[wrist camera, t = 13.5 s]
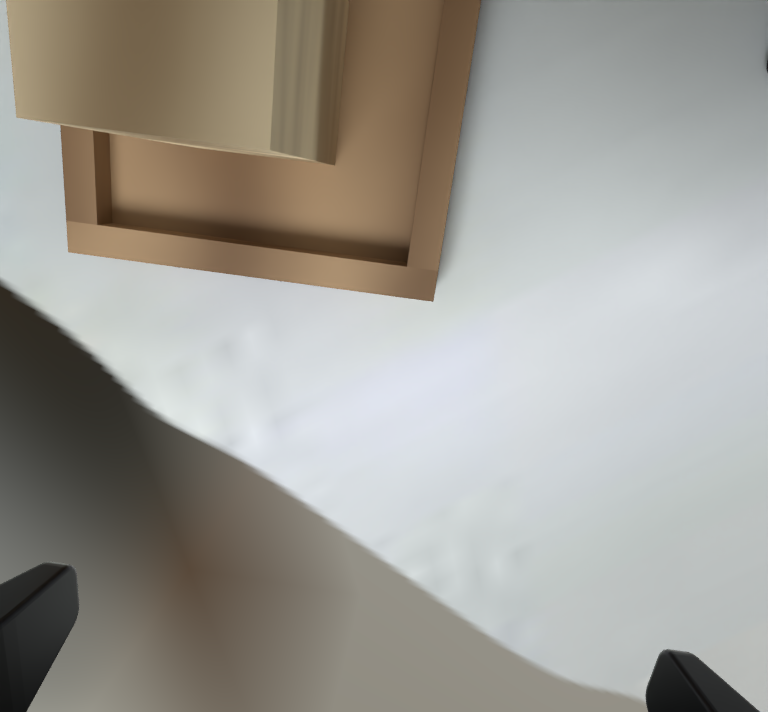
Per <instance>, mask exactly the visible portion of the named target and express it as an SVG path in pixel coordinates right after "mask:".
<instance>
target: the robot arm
mask: <svg viewBox="0 0 768 712" xmlns="http://www.w3.org/2000/svg"><path fill="white" fill-rule="evenodd" d="M767 71H768V62H767ZM78 611H79V598H78V584H77V573H76V569H75V568H74V566H72V565H70V564H63V563H56V562H45V563H42V564H40V565H38V566H36V567H34V568H32V569H30V570H28V571H26V572H24V573H22V574H20V575H18V576H16V577H14V578H12V579H10V580H8V581H6V582H4V583H2V584H0V712H27V710H28V708H29V706H30V704H31V702H32V701H33V699H34V697H35V695H36V693H37V691H38V690H39V688H40V686H41V684H42V682H43V680H44V679H45V677H46V675H47V673H48V671H49V669H50V668H51V666H52V664H53V662H54V660H55V658H56V657H57V655H58V653H59V651H60V649H61V647H62V646H63V644H64V642H65V640H66V638H67V637H68V635H69V633H70V631H71V629H72V627H73V626H74V623H75V621H76V619H77V615H78ZM646 705H647V709H648V712H760V711H758V710H757V709H756V708H755V707H754V706H753V705H752V704H750V703H749V702H748V701H747V700H746V699H745V698H744V697H742V696H741V695H740V694H739V693H738V692H737V691H735V690H734V689H733V688H732V687H731V686H730V685H729V684H727V683H726V682H725V681H724V680H723V679H722V678H721V677H719V676H718V675H717V674H716V673H715V672H714V671H713V670H711V669H710V668H709V667H708V666H707V665H706V664H704V663H703V662H702V661H701V660H700V659H699V658H698V657H696V656H695V655H693V654H692V653H689V652H683V651H677V650H670V649H666V650H663V651H662V652H661V653H660V654H659V656H658V659H657V661H656V664H655V667H654V669H653V672H652V675H651V677H650V680H649V683H648V685H647V689H646Z"/></svg>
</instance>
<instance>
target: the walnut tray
mask: <svg viewBox="0 0 768 712" xmlns="http://www.w3.org/2000/svg"><path fill="white" fill-rule="evenodd" d="M348 1H349V10H348V22H347V33H346V45H345V56H344V67H343V79H342V90H341V101H340V113H339V124H338V136H337V147H336V158H335V166H334V165H326V164H319V163H311V162H303V161H295V160H288V159H280V158H272V157H264V156H257V155H249V154H241V153H233V152H226V151H218V150H210V149H202V148H195V147H189V146H183V145H177V144H171V143H165V142H159V141H153V140H147V139H141V138H136V137H130V136H124V135H118V134H112V133H106V132H100V131H94V130H88V129H82V128H76V127H70V126H64V125H60V126H61V142H62V158H63V174H64V190H65V206H66V223H67V239H68V252H71V253H78V254H86V255H93V256H100V257H108V258H115V259H123V260H130V261H137V262H145V263H152V264H159V265H167V266H174V267H182V268H189V269H196V270H204V271H211V272H218V273H226V274H233V275H241V276H248V277H255V278H263V279H270V280H277V281H285V282H292V283H300V284H307V285H314V286H322V287H329V288H336V289H344V290H351V291H359V292H366V293H373V294H381V295H388V296H396V297H403V298H410V299H418V300H425V301H432V302H433V300H434V294H435V288H436V281H437V275H438V269H439V262H440V256H441V250H442V243H443V237H444V231H445V225H446V218H447V212H448V206H449V199H450V193H451V187H452V180H453V174H454V168H455V162H456V155H457V149H458V143H459V136H460V130H461V124H462V118H463V111H464V105H465V99H466V92H467V86H468V80H469V73H470V67H471V61H472V55H473V48H474V42H475V36H476V29H477V23H478V17H479V10H480V4H481V0H348Z"/></svg>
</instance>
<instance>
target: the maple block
mask: <svg viewBox="0 0 768 712" xmlns="http://www.w3.org/2000/svg"><path fill="white" fill-rule="evenodd" d="M6 4H7V16H8V27H9V38H10V49H11V61H12V72H13V83H14V94H15V106H16V117H17V118H23V119H29V120H35V121H41V122H47V123H52V124H58V125H64V126H70V127H76V128H82V129H88V130H94V131H100V132H106V133H112V134H118V135H124V136H130V137H136V138H141V139H147V140H153V141H159V142H165V143H171V144H177V145H183V146H189V147H195V148H202V149H210V150H218V151H226V152H233V153H241V154H249V155H257V156H264V157H272V158H280V159H288V160H295V161H303V162H311V163H319V164H326V165H334V166H335V158H336V147H337V136H338V124H339V113H340V101H341V90H342V79H343V67H344V56H345V45H346V33H347V22H348V10H349V1H348V0H6Z"/></svg>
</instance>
